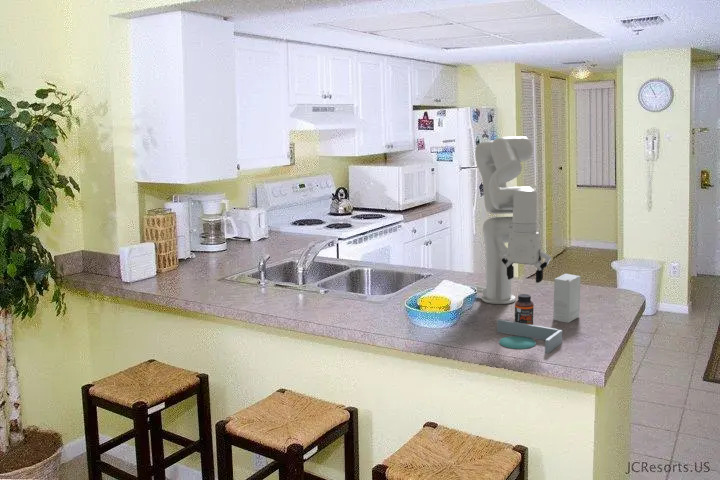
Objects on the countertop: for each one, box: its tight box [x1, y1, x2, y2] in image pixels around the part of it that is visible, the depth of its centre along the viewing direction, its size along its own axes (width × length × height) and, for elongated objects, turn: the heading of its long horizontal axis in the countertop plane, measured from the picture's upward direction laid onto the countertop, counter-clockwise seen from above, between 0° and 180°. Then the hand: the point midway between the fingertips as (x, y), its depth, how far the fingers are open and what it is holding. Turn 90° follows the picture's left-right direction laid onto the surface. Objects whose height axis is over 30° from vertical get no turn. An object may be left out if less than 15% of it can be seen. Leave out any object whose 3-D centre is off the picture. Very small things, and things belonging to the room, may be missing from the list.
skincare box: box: [552, 273, 581, 324], centre depth 233 cm, size 8×6×15 cm
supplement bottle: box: [514, 293, 534, 325], centre depth 225 cm, size 6×6×11 cm
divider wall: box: [496, 319, 563, 354], centre depth 213 cm, size 22×12×4 cm, turn 53°
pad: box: [498, 335, 537, 350], centre depth 212 cm, size 11×11×1 cm
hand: (524, 280), depth 222 cm, fingers open, 9 cm apart
